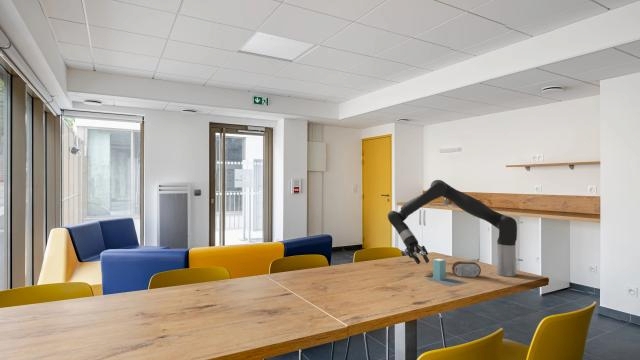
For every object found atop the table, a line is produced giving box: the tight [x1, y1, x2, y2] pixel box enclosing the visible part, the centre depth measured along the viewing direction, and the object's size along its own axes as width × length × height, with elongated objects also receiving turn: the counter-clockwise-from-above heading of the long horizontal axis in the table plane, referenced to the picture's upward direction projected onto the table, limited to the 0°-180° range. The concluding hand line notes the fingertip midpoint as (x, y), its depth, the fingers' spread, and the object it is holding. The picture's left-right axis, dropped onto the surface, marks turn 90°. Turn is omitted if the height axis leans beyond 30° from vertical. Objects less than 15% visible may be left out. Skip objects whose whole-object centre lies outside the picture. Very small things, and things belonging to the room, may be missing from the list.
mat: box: [425, 276, 469, 287], centre depth 191 cm, size 14×17×1 cm
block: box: [432, 258, 447, 280], centre depth 195 cm, size 4×4×10 cm
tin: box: [451, 261, 482, 278], centre depth 201 cm, size 15×3×8 cm, turn 84°
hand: (423, 262), depth 205 cm, fingers open, 6 cm apart
